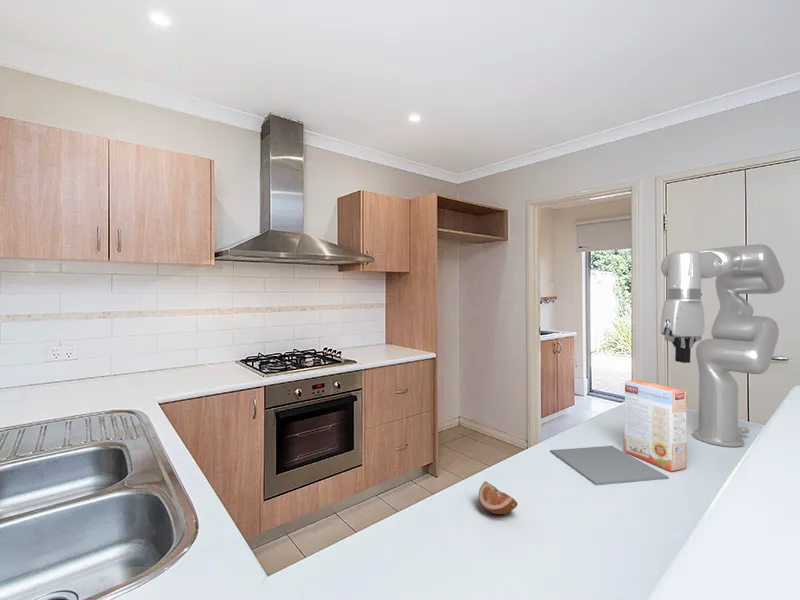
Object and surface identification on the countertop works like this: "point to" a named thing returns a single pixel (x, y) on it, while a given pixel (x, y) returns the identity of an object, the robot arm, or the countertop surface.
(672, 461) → the cracker box
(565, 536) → the countertop surface
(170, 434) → the countertop surface
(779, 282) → the robot arm
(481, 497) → the fruit slice
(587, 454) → the mat
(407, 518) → the countertop surface
